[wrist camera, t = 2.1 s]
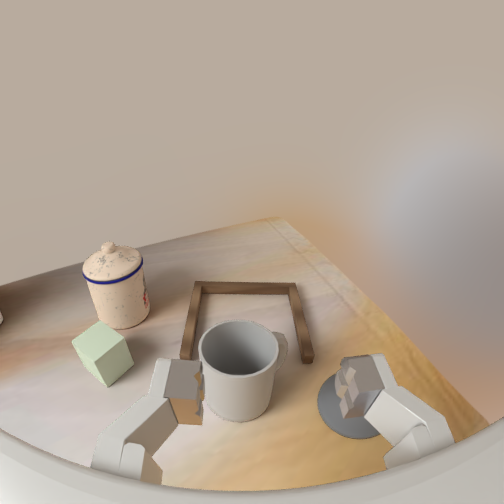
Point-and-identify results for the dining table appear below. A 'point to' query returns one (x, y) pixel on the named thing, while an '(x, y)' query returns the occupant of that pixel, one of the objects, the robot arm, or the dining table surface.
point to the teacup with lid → (117, 285)
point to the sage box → (103, 352)
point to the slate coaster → (333, 414)
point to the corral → (246, 289)
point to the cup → (240, 367)
